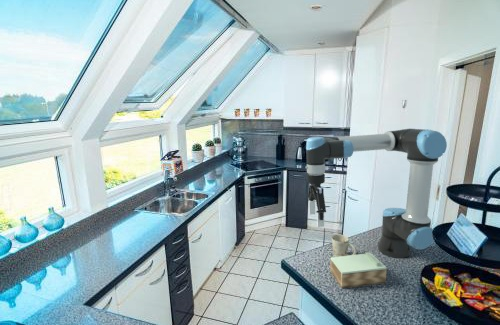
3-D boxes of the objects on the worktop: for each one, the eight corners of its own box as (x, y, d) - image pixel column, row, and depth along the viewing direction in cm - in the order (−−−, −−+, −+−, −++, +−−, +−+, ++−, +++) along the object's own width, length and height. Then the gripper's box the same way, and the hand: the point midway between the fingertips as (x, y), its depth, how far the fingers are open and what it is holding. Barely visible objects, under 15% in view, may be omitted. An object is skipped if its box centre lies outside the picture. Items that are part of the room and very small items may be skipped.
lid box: (370, 267, 126) (370, 255, 125) (385, 283, 114) (386, 269, 113) (330, 272, 124) (330, 259, 123) (341, 288, 112) (342, 274, 111)
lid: (370, 254, 125) (371, 250, 124) (386, 269, 113) (386, 264, 113) (330, 259, 123) (330, 254, 122) (342, 274, 111) (342, 269, 111)
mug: (335, 250, 143) (335, 233, 141) (359, 257, 135) (359, 239, 133) (329, 256, 137) (329, 239, 135) (353, 264, 129) (354, 245, 127)
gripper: (300, 168, 125) (301, 210, 129) (314, 181, 101) (315, 233, 104) (316, 167, 125) (316, 209, 129) (334, 180, 101) (334, 231, 105)
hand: (316, 220), depth 117 cm, fingers open, 13 cm apart
